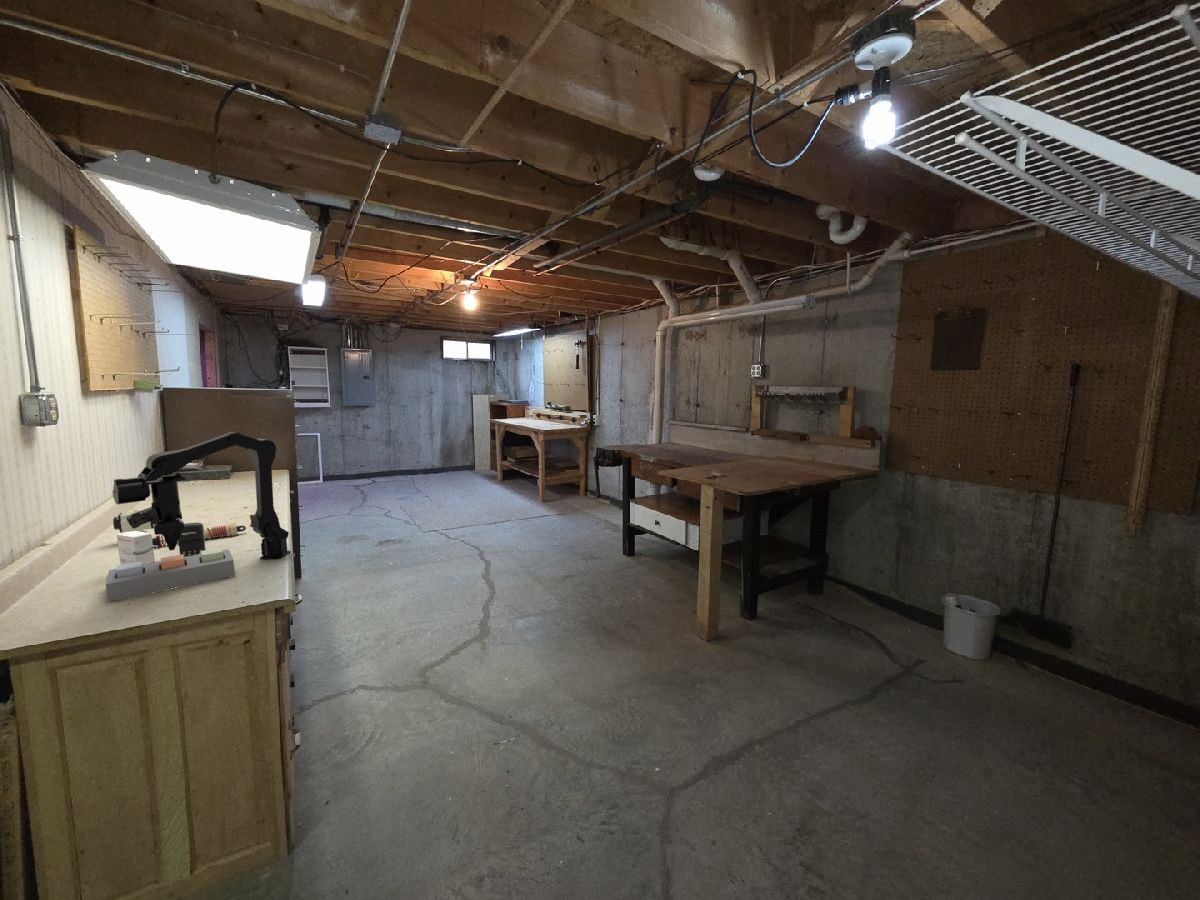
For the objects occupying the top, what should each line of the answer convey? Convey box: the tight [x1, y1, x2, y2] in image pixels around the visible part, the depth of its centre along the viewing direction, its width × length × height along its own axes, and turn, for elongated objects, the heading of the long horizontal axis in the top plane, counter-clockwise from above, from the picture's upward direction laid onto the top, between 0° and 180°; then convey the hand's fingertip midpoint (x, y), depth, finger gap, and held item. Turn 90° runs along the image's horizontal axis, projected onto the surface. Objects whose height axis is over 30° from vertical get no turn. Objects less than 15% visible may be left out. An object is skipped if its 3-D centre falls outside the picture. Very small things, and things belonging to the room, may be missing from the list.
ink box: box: [116, 531, 156, 565], centre depth 149 cm, size 9×5×12 cm, turn 71°
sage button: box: [201, 547, 224, 562], centre depth 147 cm, size 5×5×4 cm
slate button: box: [116, 561, 143, 578], centre depth 135 cm, size 5×5×4 cm
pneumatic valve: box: [112, 509, 156, 534], centre depth 175 cm, size 6×12×12 cm, turn 127°
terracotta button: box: [160, 554, 185, 570], centre depth 141 cm, size 5×5×4 cm
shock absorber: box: [152, 522, 247, 548], centre depth 177 cm, size 5×5×30 cm
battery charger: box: [177, 521, 207, 557], centre depth 161 cm, size 7×4×11 cm, turn 120°
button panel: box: [105, 548, 236, 603], centre depth 141 cm, size 27×13×5 cm, turn 133°
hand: (172, 549), depth 140 cm, fingers closed
